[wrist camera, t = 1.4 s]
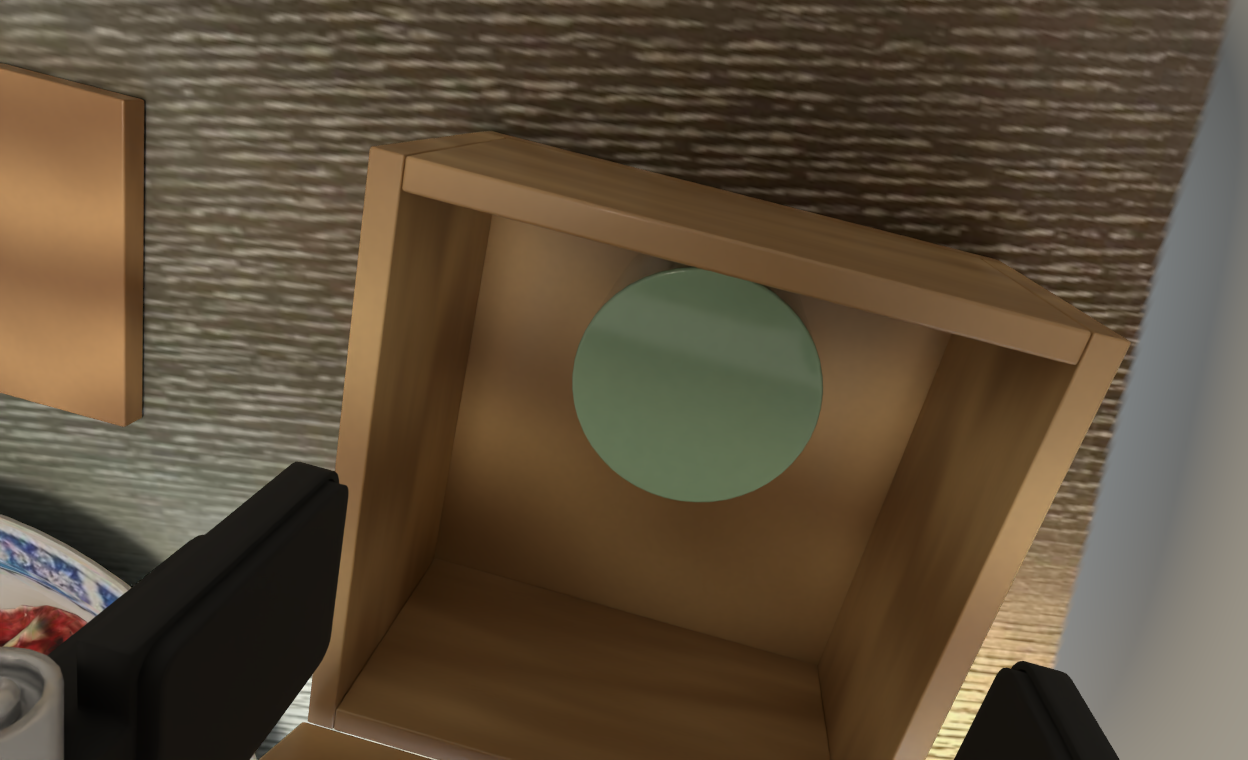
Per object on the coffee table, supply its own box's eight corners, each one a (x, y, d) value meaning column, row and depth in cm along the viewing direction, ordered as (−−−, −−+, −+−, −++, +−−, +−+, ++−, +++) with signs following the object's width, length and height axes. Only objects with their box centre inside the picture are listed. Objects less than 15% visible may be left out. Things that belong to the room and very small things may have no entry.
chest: (488, 129, 25) (369, 145, 17) (999, 260, 24) (1132, 342, 16) (419, 557, 31) (306, 722, 23) (829, 672, 30) (864, 885, 22)
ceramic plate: (181, 445, 31) (126, 480, 28) (352, 919, 39) (323, 982, 36) (-324, 493, 35) (-415, 528, 33) (-76, 909, 43) (-132, 964, 41)
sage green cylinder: (631, 206, 25) (600, 239, 19) (831, 257, 24) (859, 305, 19) (588, 390, 27) (549, 467, 21) (770, 439, 27) (779, 530, 21)
